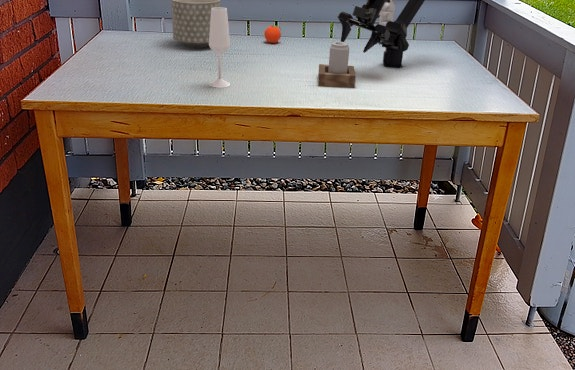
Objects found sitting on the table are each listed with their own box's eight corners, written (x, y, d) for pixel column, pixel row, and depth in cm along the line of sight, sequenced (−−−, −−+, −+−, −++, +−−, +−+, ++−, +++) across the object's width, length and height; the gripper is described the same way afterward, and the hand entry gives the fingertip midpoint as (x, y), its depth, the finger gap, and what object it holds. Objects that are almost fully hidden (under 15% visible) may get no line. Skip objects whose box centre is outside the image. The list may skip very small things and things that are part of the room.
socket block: (352, 77, 199) (353, 66, 198) (354, 87, 189) (355, 75, 187) (318, 75, 200) (319, 64, 198) (318, 85, 189) (319, 74, 187)
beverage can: (341, 75, 197) (344, 40, 192) (349, 80, 192) (353, 45, 186) (324, 76, 195) (327, 41, 190) (332, 82, 190) (335, 46, 184)
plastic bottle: (392, 44, 245) (398, -4, 236) (376, 44, 245) (381, -5, 236) (390, 41, 251) (395, -7, 241) (374, 40, 251) (379, -7, 241)
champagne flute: (211, 80, 189) (209, 6, 178) (231, 81, 189) (231, 7, 178) (208, 86, 183) (206, 10, 172) (229, 87, 183) (228, 11, 172)
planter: (196, 37, 243) (195, -8, 235) (230, 45, 233) (230, -1, 225) (163, 45, 229) (160, -2, 221) (198, 53, 220) (196, 4, 211)
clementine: (275, 39, 245) (275, 22, 242) (285, 43, 241) (286, 25, 237) (260, 42, 240) (261, 24, 237) (271, 45, 236) (272, 28, 232)
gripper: (343, -12, 194) (322, 29, 194) (391, 4, 186) (369, 47, 186) (352, 3, 204) (332, 43, 204) (399, 19, 196) (378, 60, 196)
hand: (352, 47), depth 197 cm, fingers open, 9 cm apart
